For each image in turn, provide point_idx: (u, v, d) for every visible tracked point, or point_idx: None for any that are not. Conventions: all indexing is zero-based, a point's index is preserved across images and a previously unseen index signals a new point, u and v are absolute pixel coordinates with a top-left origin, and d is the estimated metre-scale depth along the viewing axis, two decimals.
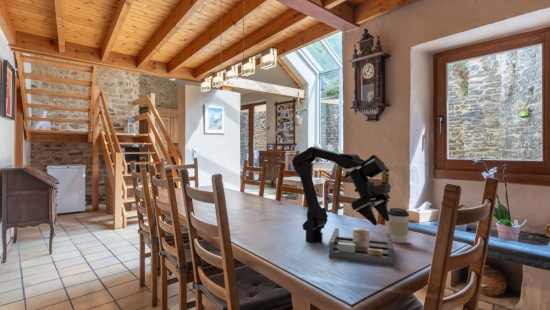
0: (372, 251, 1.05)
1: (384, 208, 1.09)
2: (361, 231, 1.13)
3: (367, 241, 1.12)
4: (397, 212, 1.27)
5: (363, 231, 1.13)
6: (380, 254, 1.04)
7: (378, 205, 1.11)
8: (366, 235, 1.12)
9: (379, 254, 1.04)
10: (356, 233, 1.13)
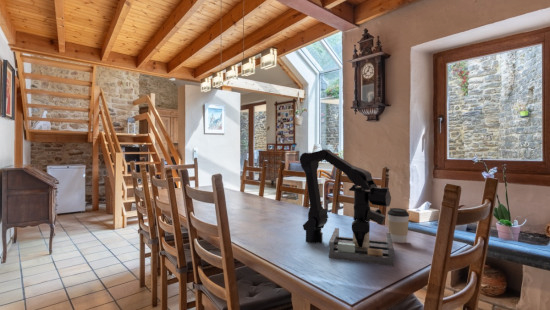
0: (372, 251, 1.05)
1: None
2: None
3: (367, 241, 1.12)
4: (397, 212, 1.27)
5: None
6: (380, 254, 1.04)
7: None
8: (366, 235, 1.12)
9: (379, 254, 1.04)
10: None
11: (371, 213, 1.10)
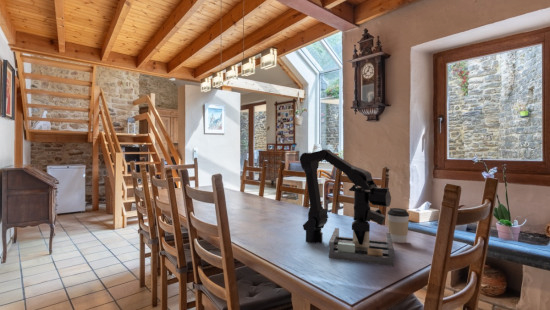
0: (372, 251, 1.05)
1: None
2: None
3: (367, 241, 1.12)
4: (397, 212, 1.27)
5: None
6: (380, 254, 1.04)
7: None
8: (366, 235, 1.12)
9: (379, 254, 1.04)
10: None
11: (371, 213, 1.10)
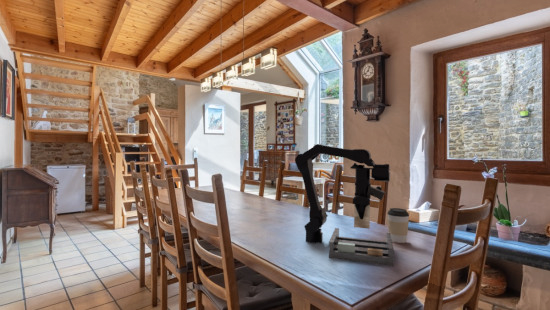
0: (372, 251, 1.05)
1: None
2: None
3: (368, 216, 1.18)
4: (397, 212, 1.27)
5: None
6: (380, 254, 1.04)
7: None
8: (367, 210, 1.18)
9: (379, 254, 1.04)
10: None
11: (371, 189, 1.16)
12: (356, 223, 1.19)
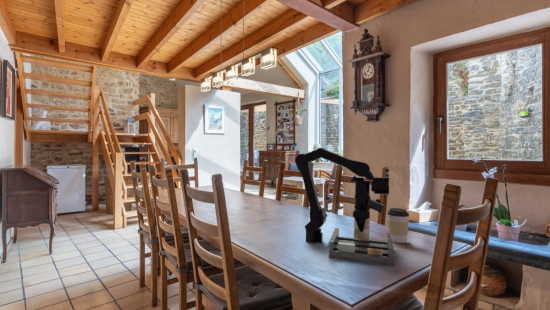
0: (372, 251, 1.05)
1: None
2: None
3: (367, 229, 1.19)
4: (397, 212, 1.27)
5: None
6: (380, 254, 1.04)
7: None
8: (366, 223, 1.19)
9: (379, 254, 1.04)
10: None
11: (371, 202, 1.17)
12: (356, 236, 1.20)
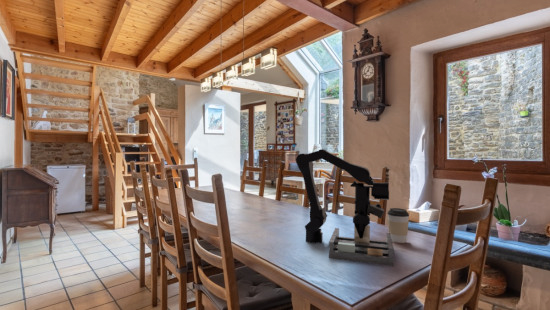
0: (372, 251, 1.05)
1: None
2: None
3: (368, 236, 1.19)
4: (397, 212, 1.27)
5: None
6: (380, 254, 1.04)
7: None
8: (367, 230, 1.19)
9: (379, 254, 1.04)
10: None
11: (371, 207, 1.17)
12: None
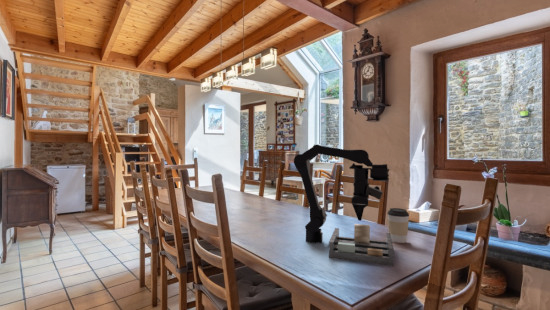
0: (372, 251, 1.05)
1: None
2: (362, 227, 1.20)
3: (368, 236, 1.19)
4: (397, 212, 1.27)
5: (364, 227, 1.19)
6: (380, 254, 1.04)
7: None
8: (367, 230, 1.19)
9: (379, 254, 1.04)
10: (357, 228, 1.20)
11: (370, 189, 1.18)
12: None
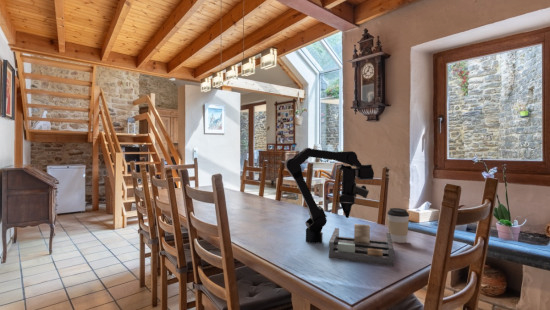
0: (372, 251, 1.05)
1: None
2: (362, 227, 1.20)
3: (368, 236, 1.19)
4: (397, 212, 1.27)
5: (364, 227, 1.19)
6: (380, 254, 1.04)
7: None
8: (367, 230, 1.19)
9: (379, 254, 1.04)
10: (357, 228, 1.20)
11: (357, 188, 1.25)
12: None
